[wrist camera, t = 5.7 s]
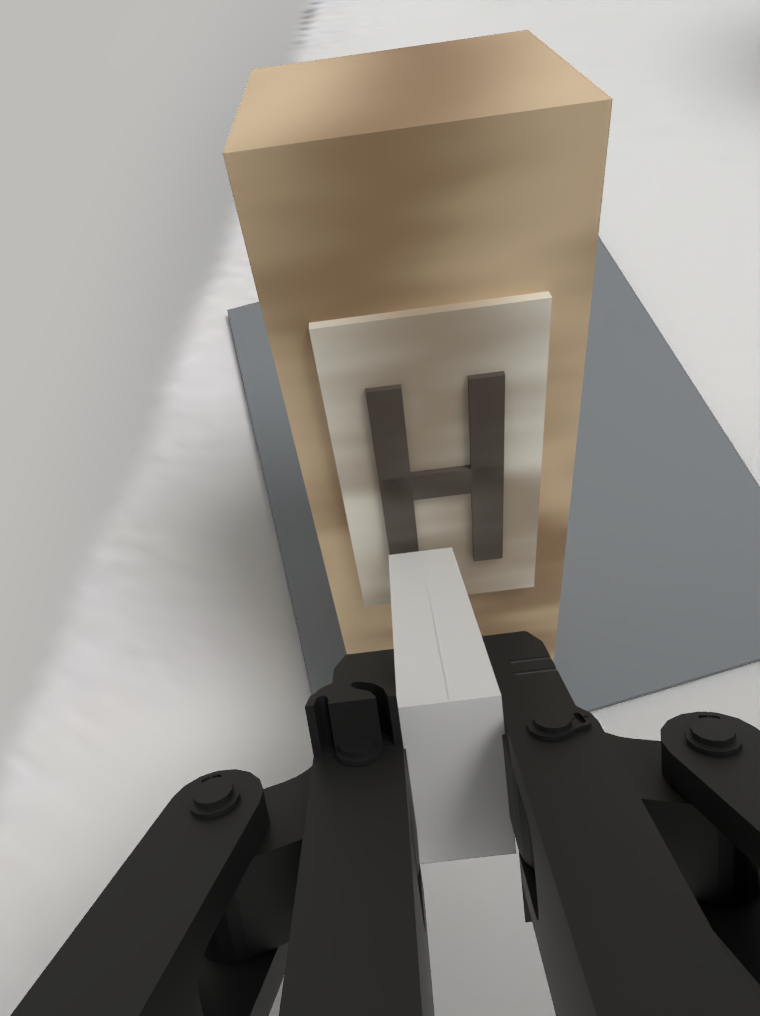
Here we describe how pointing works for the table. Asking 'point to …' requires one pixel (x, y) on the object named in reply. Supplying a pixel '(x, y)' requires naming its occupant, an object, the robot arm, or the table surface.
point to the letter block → (429, 308)
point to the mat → (584, 516)
